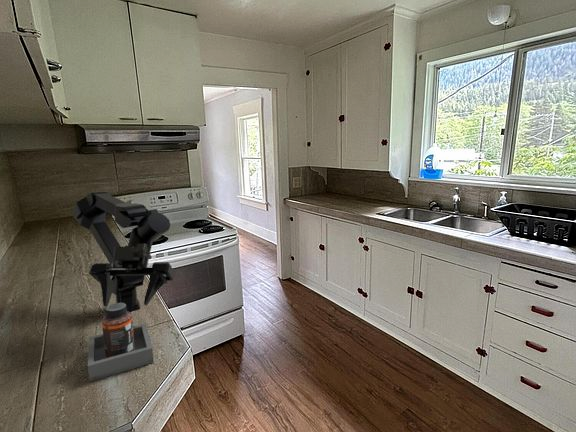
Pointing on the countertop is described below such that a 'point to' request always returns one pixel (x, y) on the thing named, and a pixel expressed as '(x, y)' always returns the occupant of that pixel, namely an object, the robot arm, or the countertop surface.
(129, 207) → the robot arm
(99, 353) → the tray
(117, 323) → the supplement bottle
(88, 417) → the countertop surface
